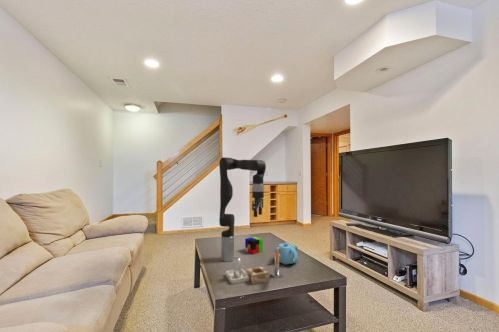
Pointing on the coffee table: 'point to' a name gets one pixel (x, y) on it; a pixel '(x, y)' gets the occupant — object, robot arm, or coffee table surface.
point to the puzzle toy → (254, 245)
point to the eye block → (258, 275)
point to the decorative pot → (287, 253)
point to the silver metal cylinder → (237, 267)
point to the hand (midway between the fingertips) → (257, 215)
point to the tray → (243, 278)
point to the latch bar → (277, 256)
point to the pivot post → (277, 272)
